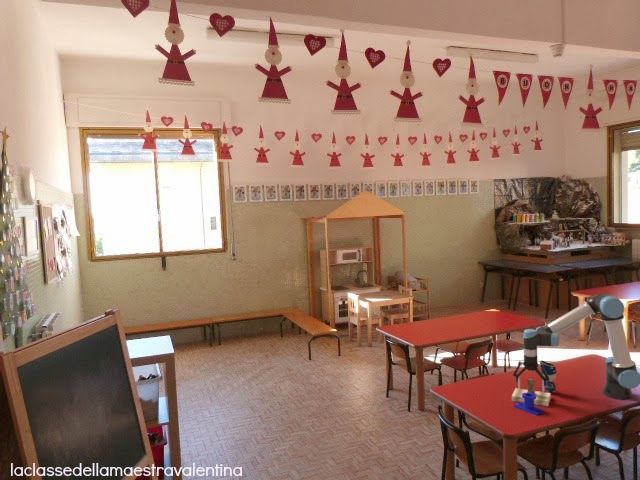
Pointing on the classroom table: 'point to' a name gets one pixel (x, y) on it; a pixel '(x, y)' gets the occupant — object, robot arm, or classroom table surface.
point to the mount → (529, 404)
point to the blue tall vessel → (551, 373)
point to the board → (541, 399)
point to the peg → (531, 386)
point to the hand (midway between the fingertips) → (531, 389)
